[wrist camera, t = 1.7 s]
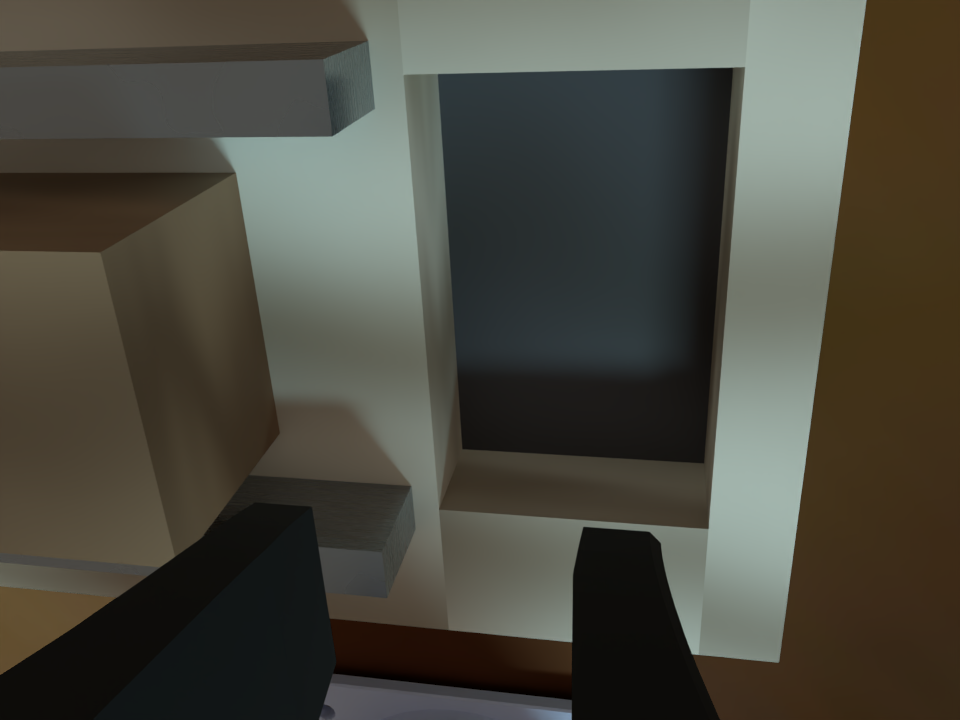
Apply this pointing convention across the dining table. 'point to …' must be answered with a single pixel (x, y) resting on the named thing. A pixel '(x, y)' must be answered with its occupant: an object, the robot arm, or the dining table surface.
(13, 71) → the grey metal bar
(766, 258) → the grey flat piece
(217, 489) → the walnut block
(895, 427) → the dining table surface
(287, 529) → the robot arm
